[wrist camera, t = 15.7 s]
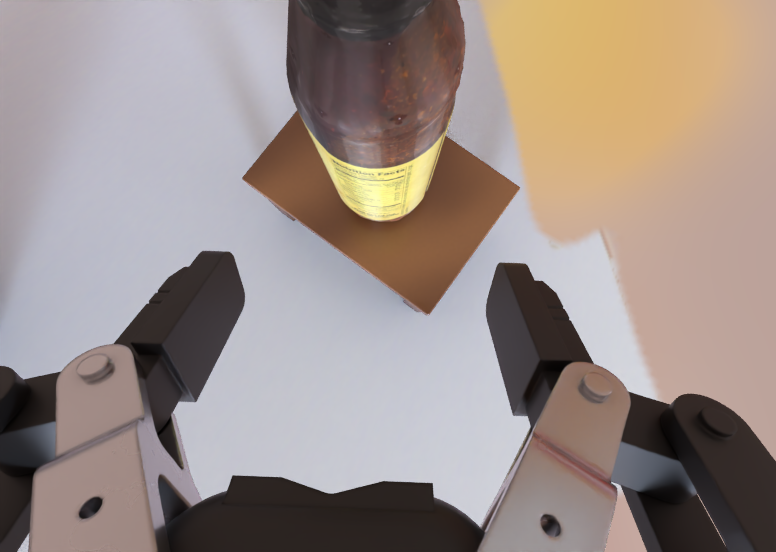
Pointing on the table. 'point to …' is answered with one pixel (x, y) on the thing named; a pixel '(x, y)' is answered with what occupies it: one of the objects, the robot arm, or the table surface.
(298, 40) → the sauce bottle
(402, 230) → the small brown wooden table
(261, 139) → the table surface
